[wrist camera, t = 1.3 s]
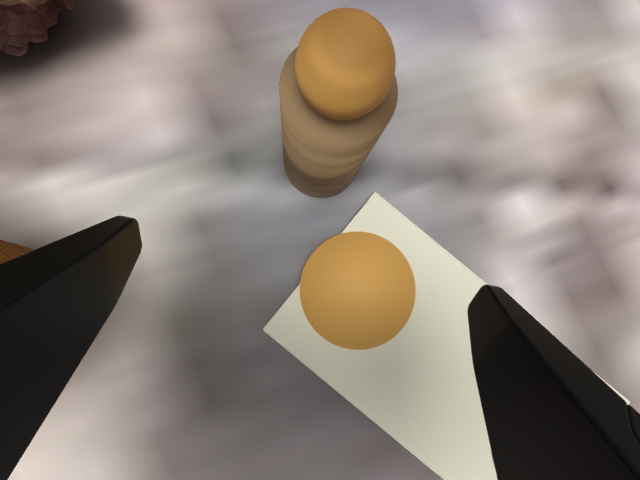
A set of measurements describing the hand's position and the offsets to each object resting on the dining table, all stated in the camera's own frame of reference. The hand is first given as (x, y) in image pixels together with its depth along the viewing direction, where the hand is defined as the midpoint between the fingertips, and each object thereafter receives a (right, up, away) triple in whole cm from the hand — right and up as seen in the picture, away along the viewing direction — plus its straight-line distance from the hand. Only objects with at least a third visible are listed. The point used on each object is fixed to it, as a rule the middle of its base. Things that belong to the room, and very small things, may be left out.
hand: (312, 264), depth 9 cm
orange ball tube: (0, +6, +14) cm, 15 cm away
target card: (+8, -7, +13) cm, 17 cm away
